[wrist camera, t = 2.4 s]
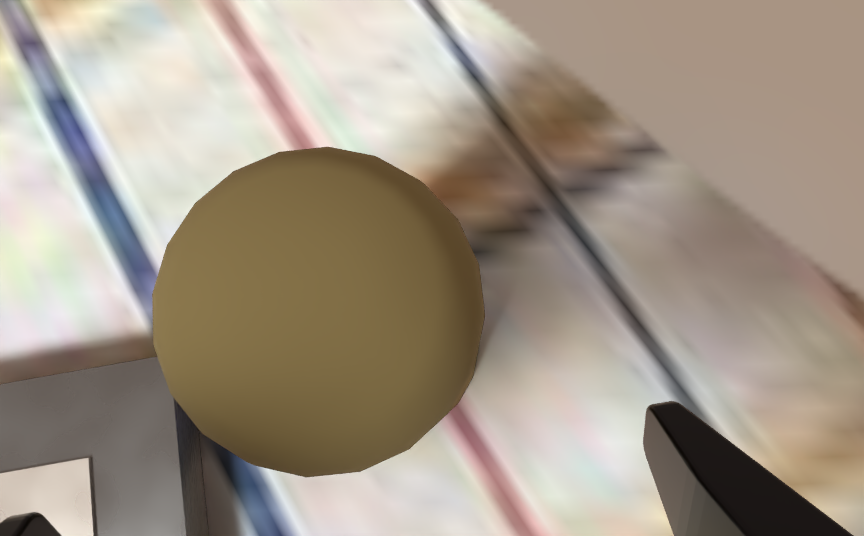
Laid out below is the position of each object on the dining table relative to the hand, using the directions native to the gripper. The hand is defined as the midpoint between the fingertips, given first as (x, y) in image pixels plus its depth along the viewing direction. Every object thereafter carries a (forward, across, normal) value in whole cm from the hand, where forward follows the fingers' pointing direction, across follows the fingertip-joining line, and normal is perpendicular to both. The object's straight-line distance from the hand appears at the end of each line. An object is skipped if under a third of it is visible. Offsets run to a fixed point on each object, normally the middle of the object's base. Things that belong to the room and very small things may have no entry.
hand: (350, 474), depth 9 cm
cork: (+9, 0, +5) cm, 10 cm away
